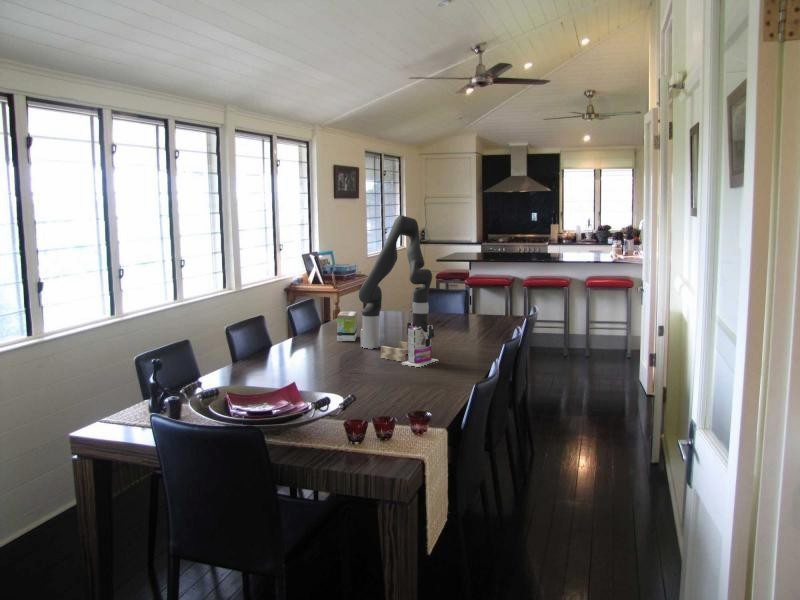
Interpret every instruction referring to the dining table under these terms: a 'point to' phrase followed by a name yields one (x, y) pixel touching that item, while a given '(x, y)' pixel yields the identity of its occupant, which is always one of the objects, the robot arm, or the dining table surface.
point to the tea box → (346, 326)
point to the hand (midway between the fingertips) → (420, 345)
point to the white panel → (418, 363)
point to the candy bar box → (418, 346)
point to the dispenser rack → (395, 352)
